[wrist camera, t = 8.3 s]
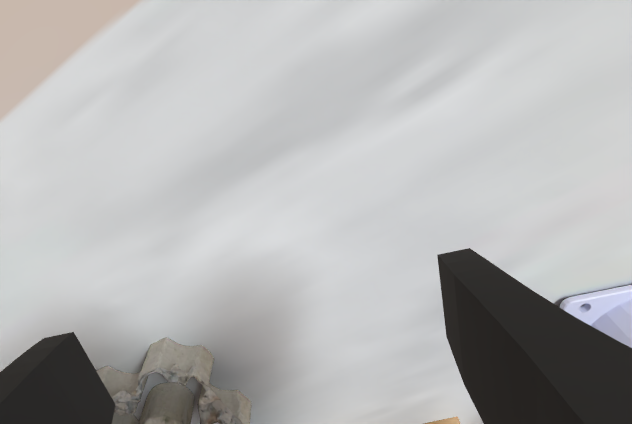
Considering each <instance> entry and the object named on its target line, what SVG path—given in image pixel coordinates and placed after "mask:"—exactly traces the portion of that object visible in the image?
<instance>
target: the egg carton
mask: <svg viewBox="0 0 632 424" xmlns="http://www.w3.org/2000/svg"><path fill="white" fill-rule="evenodd" d="M213 363H214V358H213V356H212V354H211V353H210V352H209V351H208V350H207V349H206V348H205V347H204V346H202V345H197V346H183V345H180V344H178V343H176V342H174V341H172V340H171V339H169V338H167V337H166V338H164V339H161V340H159V341H157V342H155V343H153V344H151V345H150V348H149V350H148V353H147V357H146V359H145V361H144V364H143V366H142V369H141V372H140V373H134V374H133V373H125V372H121V371H118V370H115V369H113V368H111V367H109V366H106V367H103V368H101V369H99V370H97V371H96V372H97V373H98V375H99V377H100V378H101V380H102V382H103V384H104V385H105V387H106V389H107V390H108V392H109V394H110V396H111V397H112V399H113V401H114V403H115V410H114V415H113V420H112V424H190V422H191V417H192V412H193V406H194V396H193V393H192V392H191V391H190V390H189V389H188V388H186V387H185V386H186V384H187V382H188V380H189V378H191V377H194V378H196V379H197V381H198V382H199V383H200V384H202V389H201V393H200V398H199V401H198V411H199V415H200V424H213V423H216V422H219V423H221V424H250V415H251V413H250V411H251V401H250V400H249V399H248V398H247V397H246V396H244V395H243V394H242V393H241V392H240V391H239V390H232V391H229V390H221V389H218V388H216V387H214V386H212V385H211V384H210V383H209V380H210V375H211V368H212V365H213ZM155 372H158V373H161V374H162V375H163V377H164V378H165V379H166V380H167V381H168V383H162V384H158V385H157V386H155V387H153V388H152V389H151V391H150V392H149V394H148V397H147V399H146V402H145V406H144V409H143V412H142V415H141V417H140V420H139V421H138V419H137V418H136V417H135V416H134V415H133V413H135V412H136V408H137V404H138V402H140V399H141V396H142V393H143V389H144V386H145V384H146V381H147V378H148V375H149V374H152V373H155ZM178 383H180V384H182V385H180V384H178Z"/></svg>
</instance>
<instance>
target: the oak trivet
mask: <svg viewBox="0 0 632 424" xmlns="http://www.w3.org/2000/svg"><path fill="white" fill-rule="evenodd" d="M424 424H460V422H459V419H458V417H453V418H448V419H443V420H439V421H434V422H429V423H424Z"/></svg>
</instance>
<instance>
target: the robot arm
mask: <svg viewBox="0 0 632 424" xmlns="http://www.w3.org/2000/svg"><path fill="white" fill-rule="evenodd" d="M438 264H439V273H440V282H441V291H442V299H443V308H444V317H445V326H446V335H447V339H448V342H449V344H450V347H451V350H452V353H453V355H454V358H455V361H456V364H457V366H458V369H459V372H460V374H461V377H462V380H463V382H464V385H465V387H466V389H467V391H468V393H469V395H470V397H471V399H472V401H473V403H474V405H475V407H476V409H477V411H478V413H479V415H480V417H481V419H482V421H483V423H484V424H632V285H628V286H623V287H618V288H613V289H608V290H603V291H598V292H593V293H588V294H583V295H578V296H573V297H569V298H566V299H565V300H563V301H562V303H561V304H560V307H558V306H556V305H555V304H553V303H551V302H550V301H548V300H547V299H545V298H543V297H542V296H540V295H539V294H537V293H535V292H534V291H532V290H531V289H529V288H528V287H526V286H525V285H523V284H522V283H520V282H519V281H517V280H516V279H514V278H513V277H511V276H510V275H508V274H507V273H505V272H504V271H502V270H501V269H499V268H498V267H497V266H495V265H494V264H492V263H491V262H489V261H488V260H486V259H485V258H483V257H482V256H480V255H479V254H477V253H476V252H474V251H473V250H471V249H470V248H469V249H464V250H459V251H454V252H450V253H445V254H440V255H438ZM583 304H585V305H584V306H582V305H583ZM580 306H582V307H580ZM114 410H115V403H114V401H113V399H112V397H111V396H110V394H109V392H108V390H107V389H106V387H105V385H104V384H103V382H102V380H101V378H100V377H99V375H98V373H97V372H96V370H95V368H94V366H93V365H92V363H91V361H90V360H89V358H88V356H87V354H86V353H85V351H84V349H83V348H82V346H81V344H80V342H79V341H78V339H77V337H76V336H75V334H74V332H72V333H67V334H62V335H57V336H53V337H48V338H44V339H42V340H41V341H40V342H38V343H37V344H35V345H34V346H32V347H31V348H30V349H29V350H27V351H26V352H25V353H23V354H22V355H21V356H20V357H18V358H17V359H16V360H15V361H13V362H12V363H11V364H10V365H9V366H7V367H6V368H5V369H4V370H3V371H1V372H0V424H112V420H113V415H114Z"/></svg>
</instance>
